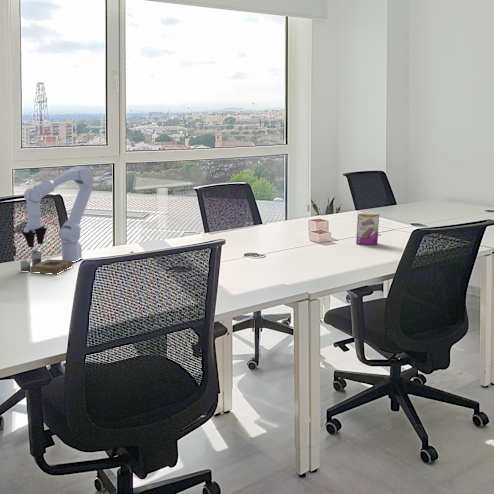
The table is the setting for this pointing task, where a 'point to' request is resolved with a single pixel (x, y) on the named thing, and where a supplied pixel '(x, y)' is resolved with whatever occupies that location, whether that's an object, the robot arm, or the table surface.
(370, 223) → the candy bar box
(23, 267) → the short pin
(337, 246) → the table surface
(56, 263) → the wooden square frame
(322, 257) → the table surface
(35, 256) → the tall pin
